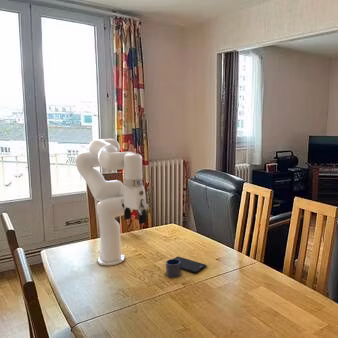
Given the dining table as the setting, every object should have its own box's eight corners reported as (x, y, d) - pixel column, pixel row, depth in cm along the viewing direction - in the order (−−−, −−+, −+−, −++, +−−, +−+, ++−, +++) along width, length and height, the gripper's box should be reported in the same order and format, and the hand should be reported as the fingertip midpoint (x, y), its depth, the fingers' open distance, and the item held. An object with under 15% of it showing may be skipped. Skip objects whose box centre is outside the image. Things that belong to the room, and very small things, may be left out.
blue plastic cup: (163, 274, 149) (162, 262, 149) (173, 269, 155) (173, 257, 154) (173, 279, 146) (173, 266, 145) (183, 273, 151) (183, 261, 150)
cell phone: (177, 257, 167) (177, 256, 167) (206, 266, 158) (206, 264, 158) (166, 264, 160) (166, 262, 160) (195, 273, 151) (195, 271, 150)
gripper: (154, 183, 138) (155, 222, 141) (127, 179, 148) (129, 215, 151) (140, 186, 132) (141, 227, 135) (113, 181, 142) (115, 219, 145)
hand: (134, 221), depth 143 cm, fingers open, 9 cm apart
